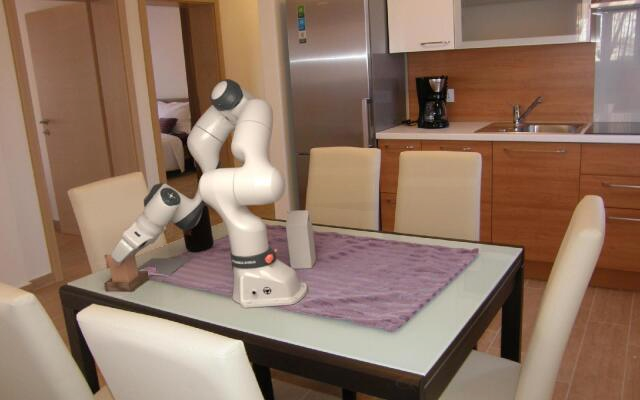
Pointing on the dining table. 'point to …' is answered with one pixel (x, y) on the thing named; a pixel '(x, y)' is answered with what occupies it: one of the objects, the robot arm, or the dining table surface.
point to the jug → (122, 269)
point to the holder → (127, 283)
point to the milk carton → (300, 239)
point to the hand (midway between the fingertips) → (124, 259)
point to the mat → (165, 264)
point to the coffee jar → (199, 234)
